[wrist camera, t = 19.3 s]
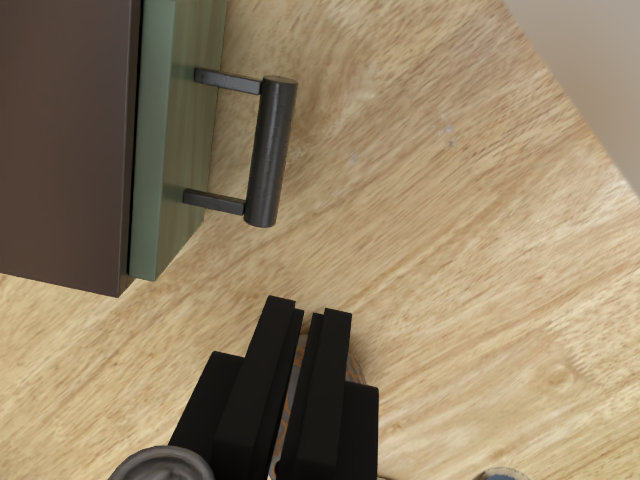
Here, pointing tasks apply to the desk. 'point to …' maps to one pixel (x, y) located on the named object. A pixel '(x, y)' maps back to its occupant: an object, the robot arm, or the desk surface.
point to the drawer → (194, 132)
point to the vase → (352, 375)
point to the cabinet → (67, 141)
